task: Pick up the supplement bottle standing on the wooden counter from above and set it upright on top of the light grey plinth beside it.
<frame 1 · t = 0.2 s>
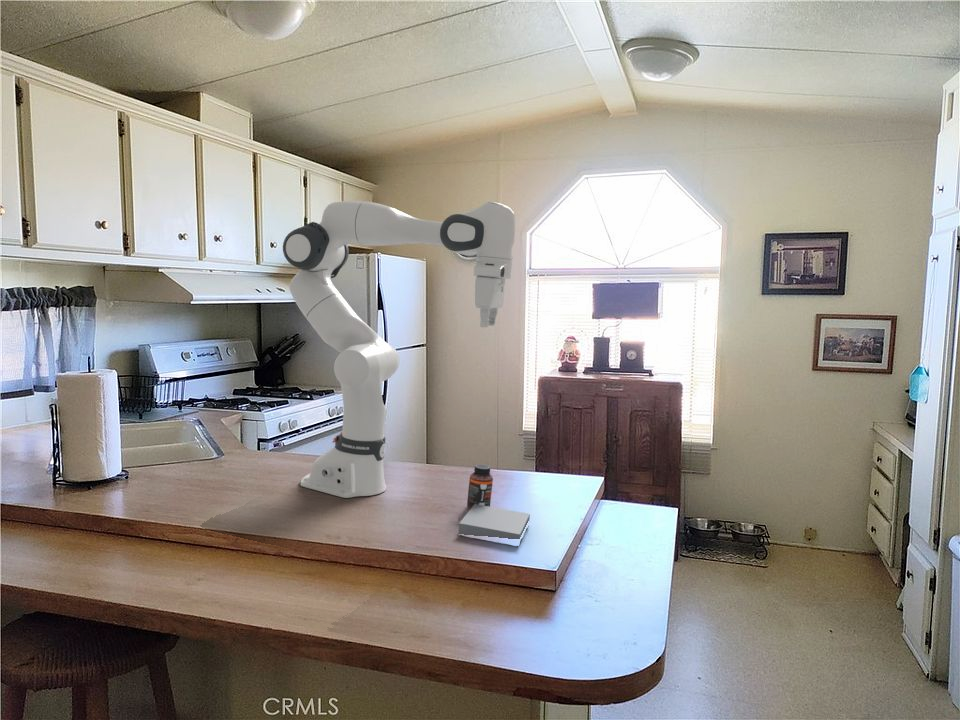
hand: (487, 326, 159), 47 cm above the table, tool pointing down, fingers open, 8 cm apart
plinth: (494, 530, 151), on the table
supplement bottle: (478, 509, 164), on the table
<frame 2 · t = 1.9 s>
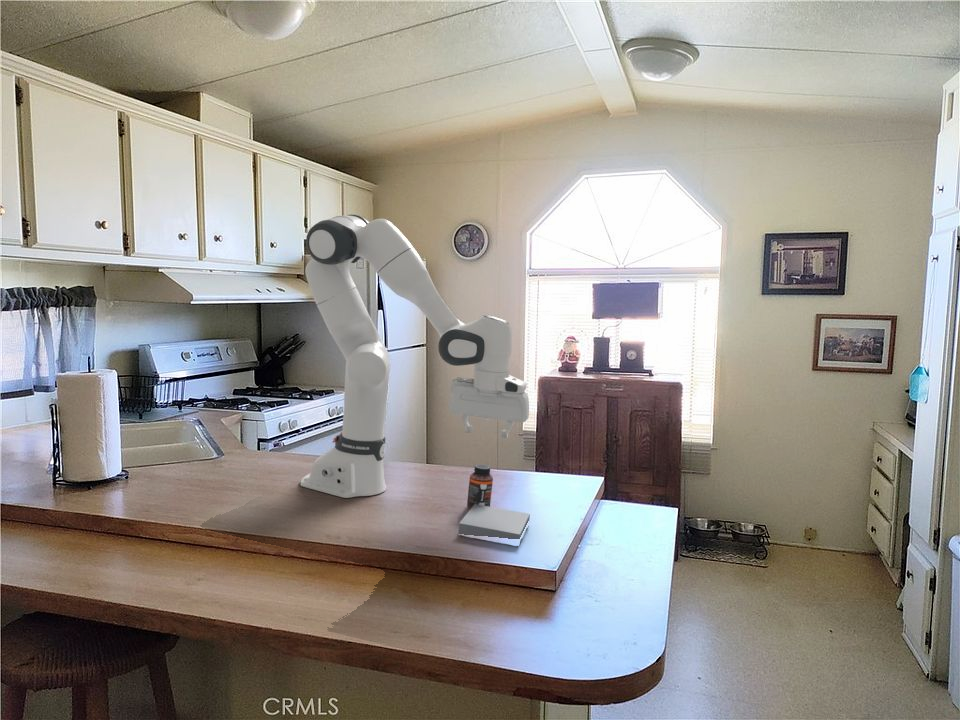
hand: (486, 435, 162), 20 cm above the table, tool pointing down, fingers open, 8 cm apart
nothing on the table moved.
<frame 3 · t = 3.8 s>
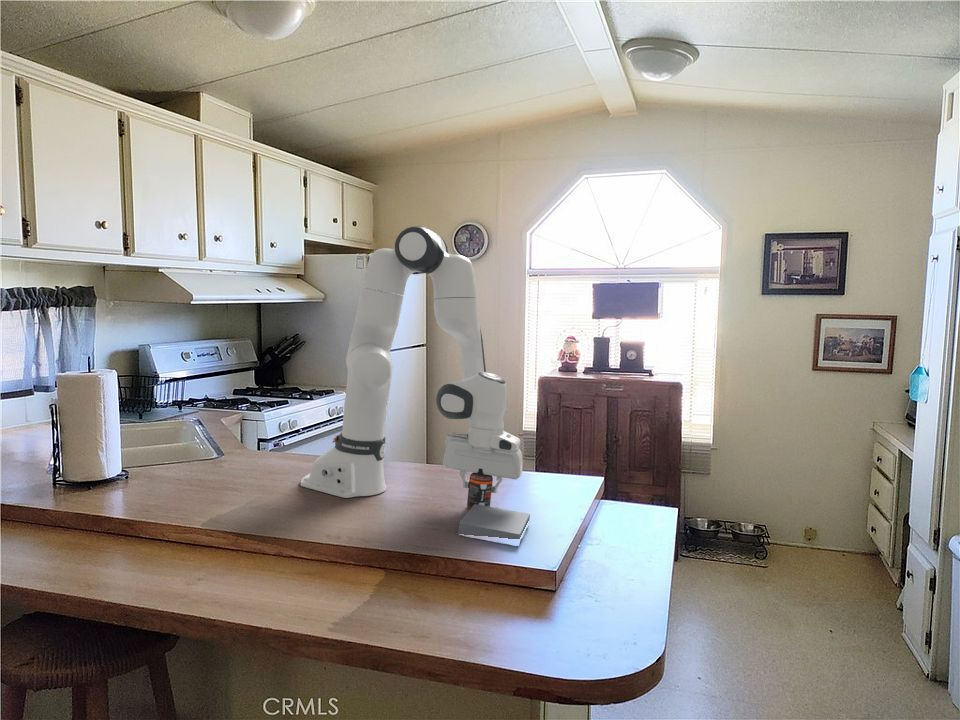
hand: (480, 489, 163), 5 cm above the table, tool pointing down, fingers closed on supplement bottle, 6 cm apart
supplement bottle: (478, 509, 164), on the table, touching gripper
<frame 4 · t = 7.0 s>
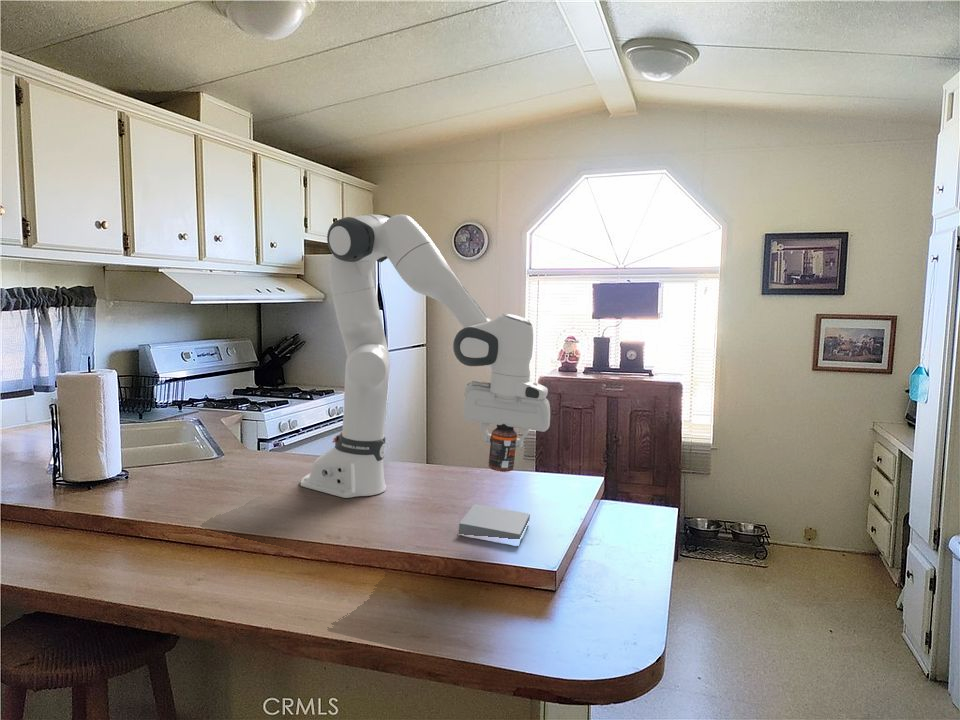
hand: (503, 444, 148), 21 cm above the table, tool pointing down, fingers closed on supplement bottle, 6 cm apart
supplement bottle: (500, 469, 149), point 15 cm above the table, touching gripper
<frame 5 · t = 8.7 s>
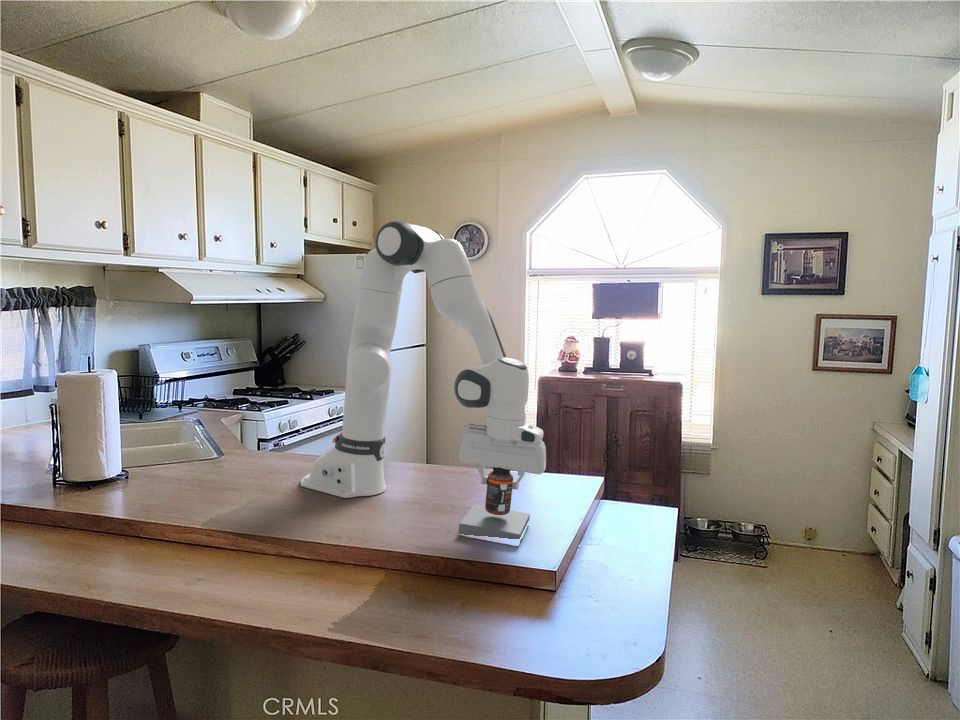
hand: (499, 486, 150), 11 cm above the table, tool pointing down, fingers closed on supplement bottle, 6 cm apart
supplement bottle: (497, 512, 151), point 4 cm above the table, touching gripper
when the fingers open (10 cm above the table, at t = 9.9 s): supplement bottle stays where it is, resting on plinth.
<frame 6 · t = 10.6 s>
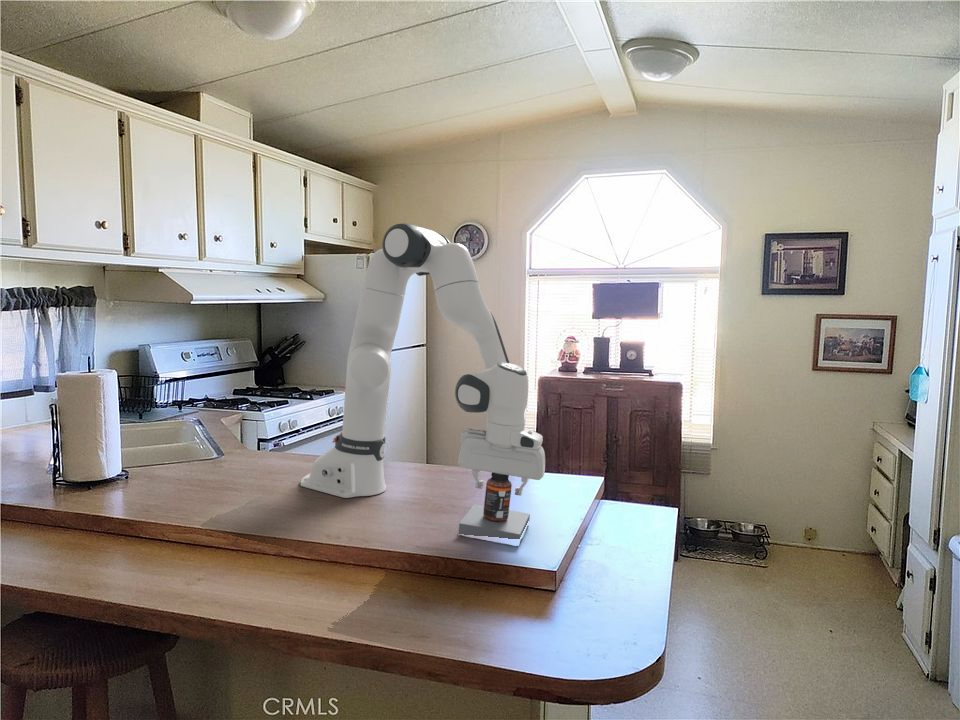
hand: (498, 491, 150), 10 cm above the table, tool pointing down, fingers open, 8 cm apart
supplement bottle: (495, 518, 151), point 3 cm above the table, touching plinth
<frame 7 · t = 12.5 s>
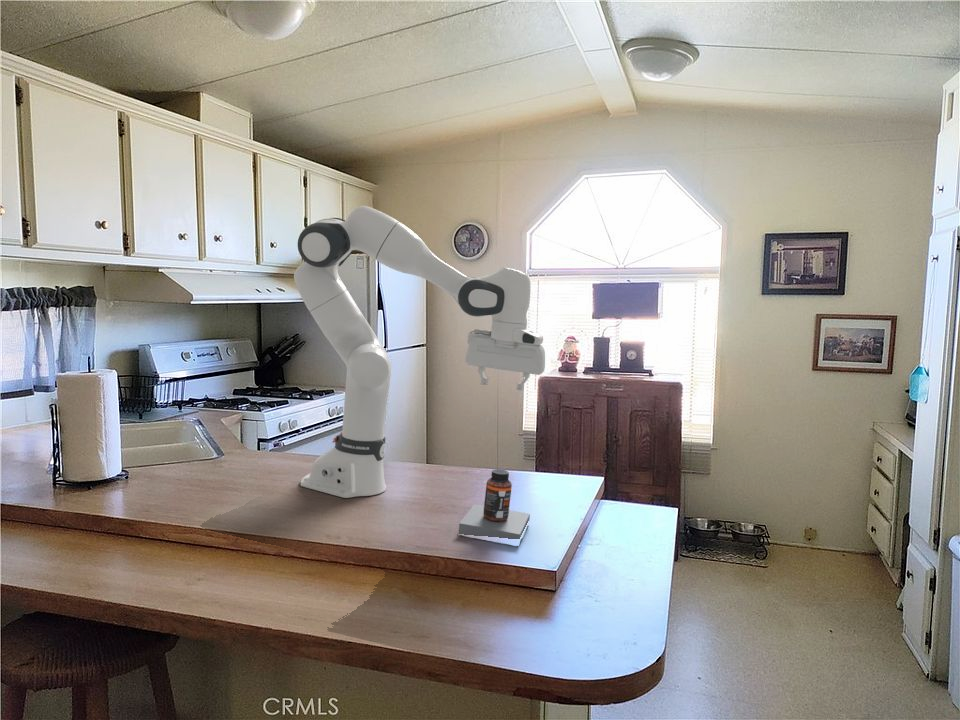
hand: (502, 387, 163), 32 cm above the table, tool pointing down, fingers open, 8 cm apart
nothing on the table moved.
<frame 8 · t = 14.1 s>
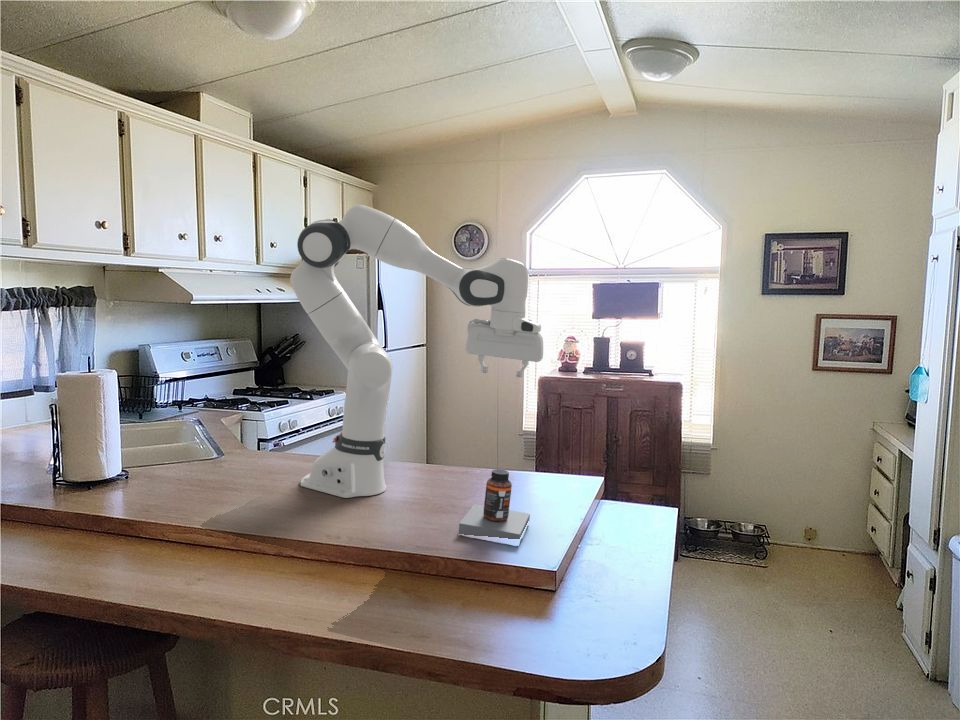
hand: (501, 374, 167), 34 cm above the table, tool pointing down, fingers open, 8 cm apart
nothing on the table moved.
at the end: supplement bottle inside the target area on the plinth (0.2 cm from its centre), point 2.8 cm above the plinth's base; supplement bottle tilted 0°; the gripper is holding nothing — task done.
